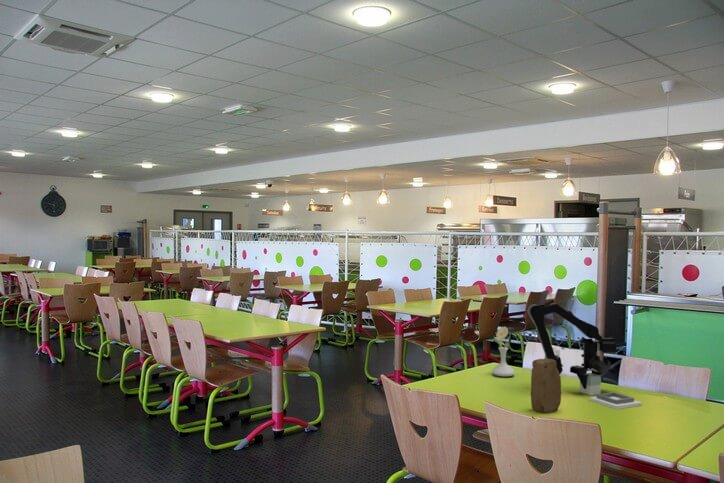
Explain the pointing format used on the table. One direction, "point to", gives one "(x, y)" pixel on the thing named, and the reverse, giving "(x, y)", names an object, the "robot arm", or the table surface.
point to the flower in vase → (503, 356)
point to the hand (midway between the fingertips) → (590, 388)
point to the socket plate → (615, 400)
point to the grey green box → (592, 385)
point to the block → (545, 386)
